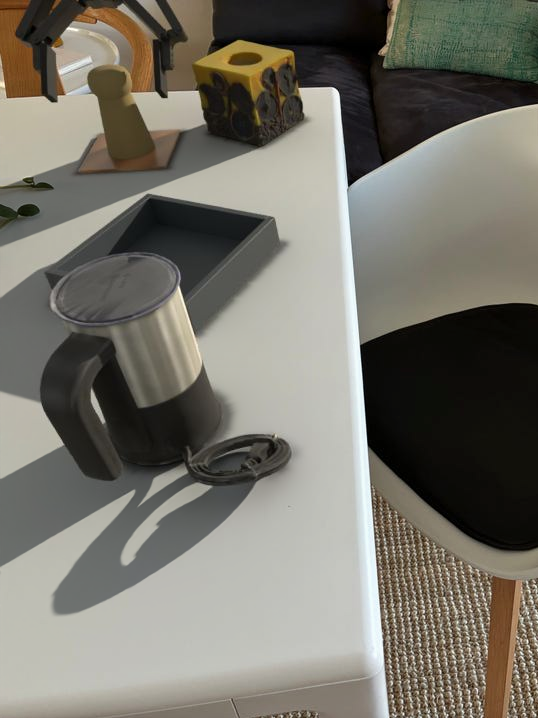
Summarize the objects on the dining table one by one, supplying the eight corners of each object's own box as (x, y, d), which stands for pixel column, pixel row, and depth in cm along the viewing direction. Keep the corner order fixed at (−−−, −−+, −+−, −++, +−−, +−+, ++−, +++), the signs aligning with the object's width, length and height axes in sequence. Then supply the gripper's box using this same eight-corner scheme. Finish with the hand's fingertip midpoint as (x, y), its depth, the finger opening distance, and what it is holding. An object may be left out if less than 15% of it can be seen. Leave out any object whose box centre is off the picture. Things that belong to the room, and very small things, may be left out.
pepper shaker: (123, 163, 102) (95, 80, 95) (99, 150, 105) (70, 68, 98) (163, 147, 105) (139, 66, 98) (139, 135, 108) (114, 55, 101)
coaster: (78, 173, 101) (77, 170, 101) (100, 136, 109) (99, 133, 109) (165, 168, 102) (165, 166, 101) (180, 132, 110) (180, 129, 110)
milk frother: (129, 391, 70) (70, 252, 60) (305, 382, 71) (276, 243, 61) (79, 520, 59) (-2, 376, 49) (288, 507, 60) (249, 363, 50)
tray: (57, 302, 80) (43, 271, 77) (156, 221, 92) (147, 193, 89) (195, 334, 76) (185, 303, 73) (281, 246, 88) (275, 216, 85)
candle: (252, 106, 116) (238, 38, 110) (307, 119, 113) (296, 49, 106) (205, 133, 110) (187, 62, 103) (262, 148, 106) (248, 75, 100)
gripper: (206, -51, 104) (214, 104, 103) (12, -46, 102) (17, 111, 101) (190, -87, 97) (199, 79, 95) (-20, -83, 95) (-15, 87, 93)
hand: (105, 96), depth 98 cm, fingers open, 13 cm apart
